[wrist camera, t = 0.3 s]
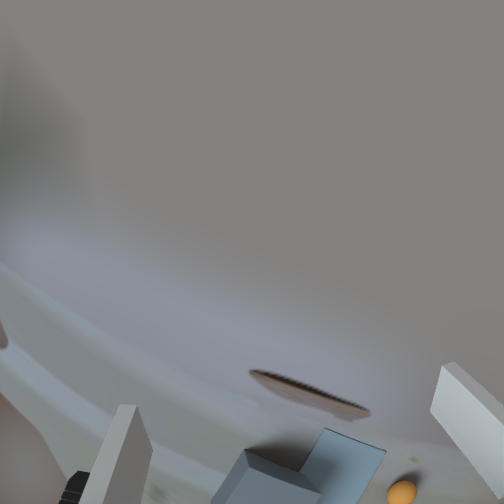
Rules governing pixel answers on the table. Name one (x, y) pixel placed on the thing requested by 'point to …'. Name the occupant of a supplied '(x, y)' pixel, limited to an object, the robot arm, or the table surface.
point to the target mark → (340, 467)
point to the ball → (401, 493)
